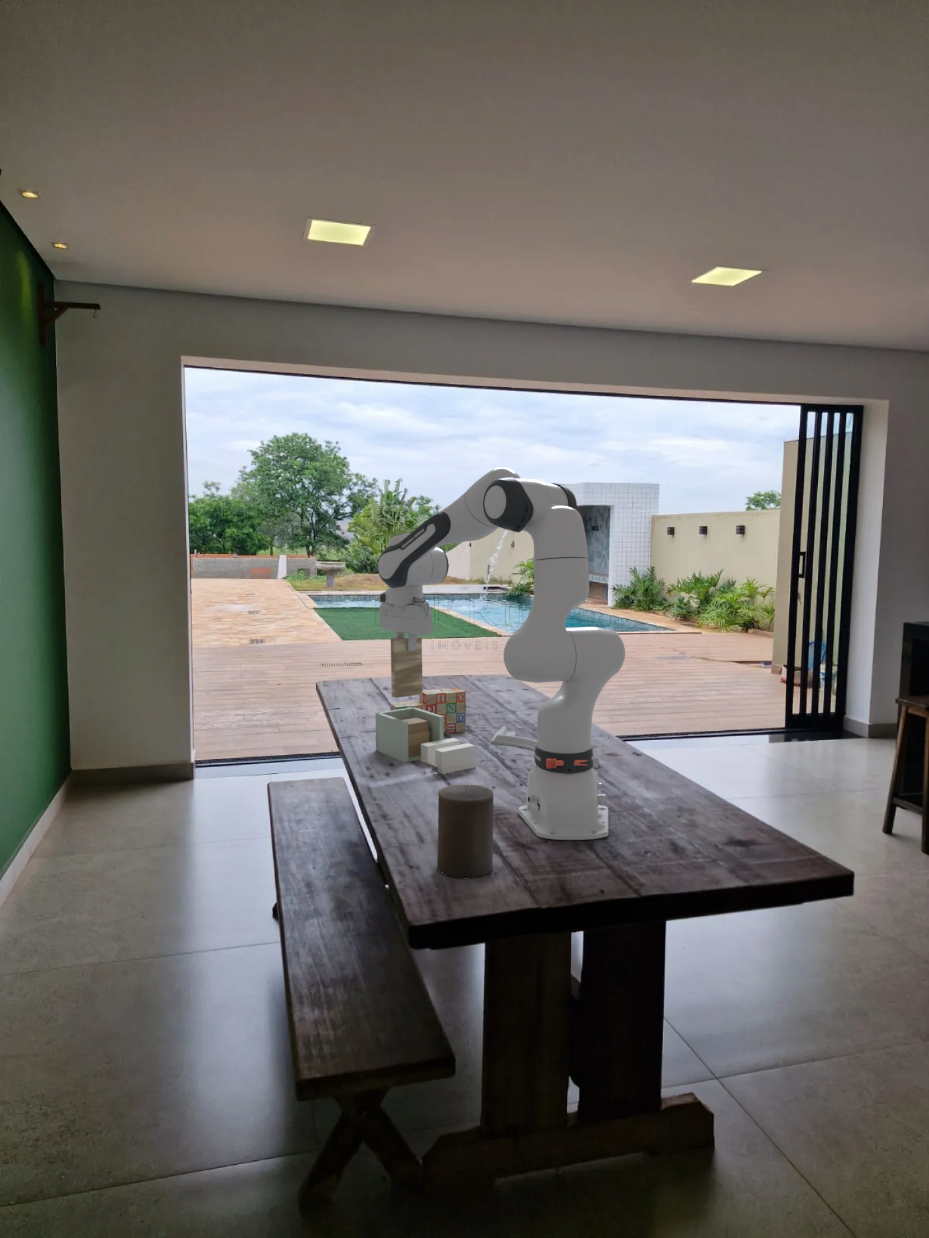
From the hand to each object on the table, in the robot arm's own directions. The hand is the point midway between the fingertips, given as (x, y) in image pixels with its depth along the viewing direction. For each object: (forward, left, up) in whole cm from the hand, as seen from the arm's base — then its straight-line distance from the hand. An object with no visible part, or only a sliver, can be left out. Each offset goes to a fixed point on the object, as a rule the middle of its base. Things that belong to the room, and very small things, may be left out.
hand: (406, 649), depth 213 cm
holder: (-10, -11, -28) cm, 32 cm away
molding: (+5, -36, -29) cm, 47 cm away
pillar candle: (-72, -14, -28) cm, 79 cm away
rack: (-1, -1, -28) cm, 28 cm away
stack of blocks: (+24, -5, -28) cm, 38 cm away
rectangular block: (0, 0, -12) cm, 12 cm away
